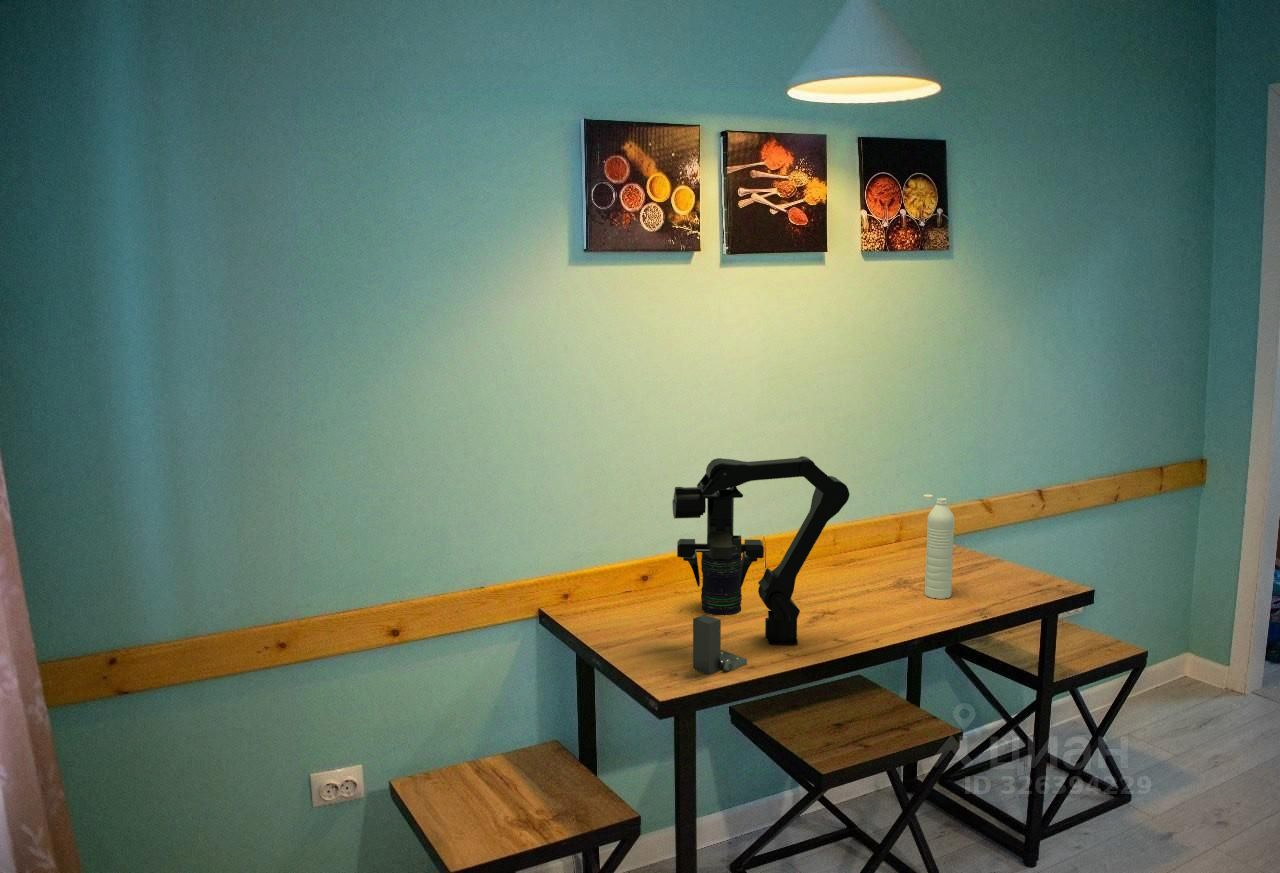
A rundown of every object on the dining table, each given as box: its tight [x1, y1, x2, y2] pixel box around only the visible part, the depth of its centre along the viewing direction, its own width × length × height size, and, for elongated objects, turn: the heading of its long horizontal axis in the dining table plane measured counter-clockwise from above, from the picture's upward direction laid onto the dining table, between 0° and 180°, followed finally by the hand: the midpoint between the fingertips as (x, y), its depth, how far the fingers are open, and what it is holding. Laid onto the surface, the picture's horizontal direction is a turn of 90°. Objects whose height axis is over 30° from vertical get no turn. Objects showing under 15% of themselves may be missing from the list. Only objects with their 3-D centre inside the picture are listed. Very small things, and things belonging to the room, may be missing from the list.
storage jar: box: [700, 552, 743, 617], centre depth 260 cm, size 10×10×15 cm
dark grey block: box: [692, 614, 722, 676], centre depth 222 cm, size 4×4×11 cm
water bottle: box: [922, 494, 955, 600], centre depth 270 cm, size 9×6×25 cm
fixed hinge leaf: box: [721, 649, 748, 672], centre depth 226 cm, size 7×8×2 cm
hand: (719, 586), depth 237 cm, fingers open, 9 cm apart
